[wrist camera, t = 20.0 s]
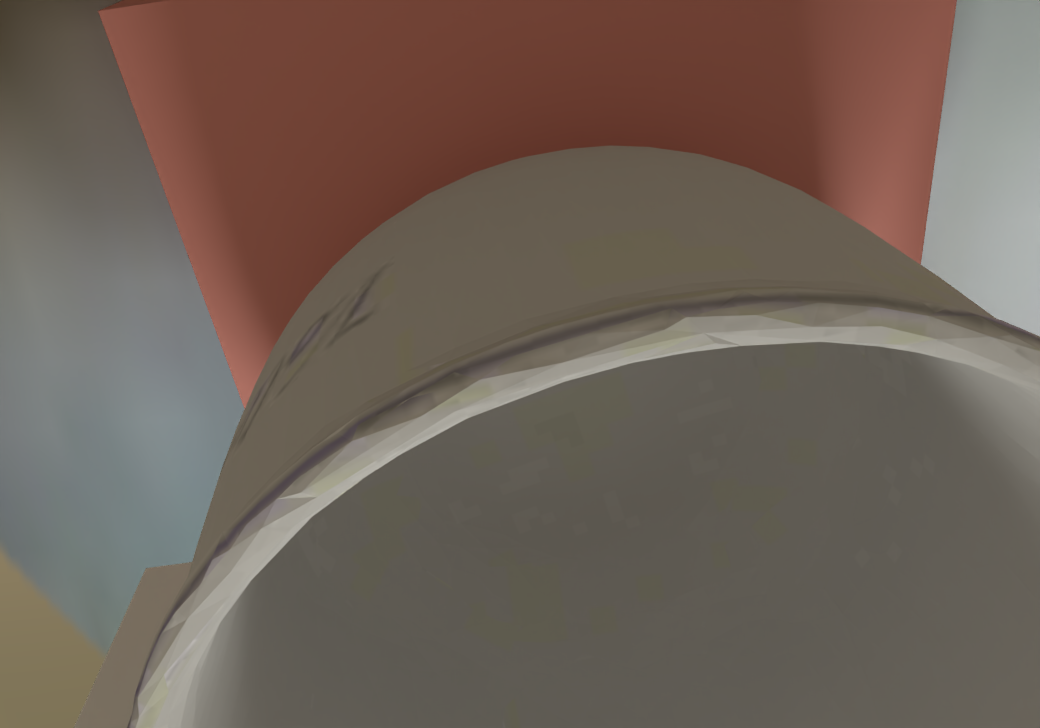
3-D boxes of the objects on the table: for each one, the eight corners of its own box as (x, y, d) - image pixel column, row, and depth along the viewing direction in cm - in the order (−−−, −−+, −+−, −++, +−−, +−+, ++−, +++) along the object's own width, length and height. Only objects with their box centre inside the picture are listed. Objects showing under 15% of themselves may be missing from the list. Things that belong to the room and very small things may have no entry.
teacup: (243, 54, 12) (-43, 321, 5) (968, 89, 13) (1574, 349, 6) (310, 697, 19) (233, 1173, 12) (771, 686, 20) (943, 1117, 13)
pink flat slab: (972, -122, 11) (98, 10, 11) (862, 694, 20) (376, 768, 20) (903, -124, 13) (143, -9, 13) (829, 630, 22) (382, 697, 22)
